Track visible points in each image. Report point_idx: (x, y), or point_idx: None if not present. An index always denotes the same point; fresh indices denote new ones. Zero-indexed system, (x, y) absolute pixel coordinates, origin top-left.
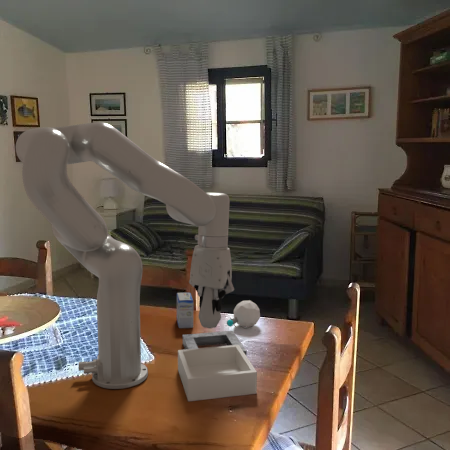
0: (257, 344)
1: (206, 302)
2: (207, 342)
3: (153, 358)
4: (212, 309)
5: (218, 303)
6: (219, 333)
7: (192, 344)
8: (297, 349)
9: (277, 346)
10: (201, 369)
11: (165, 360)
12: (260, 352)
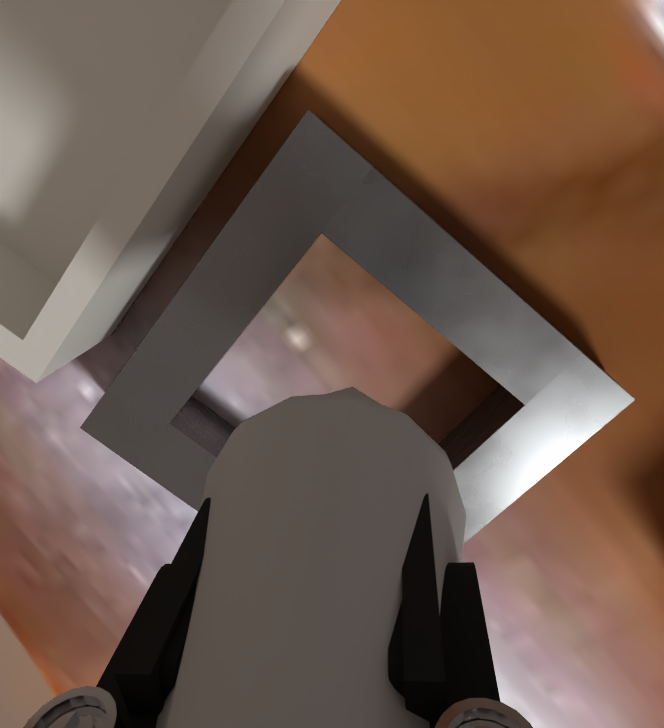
0: None
1: (271, 594)
2: None
3: (656, 17)
4: (205, 541)
5: (119, 661)
6: None
7: (447, 298)
8: (25, 638)
9: (116, 623)
10: (172, 60)
11: (543, 57)
12: (129, 524)
